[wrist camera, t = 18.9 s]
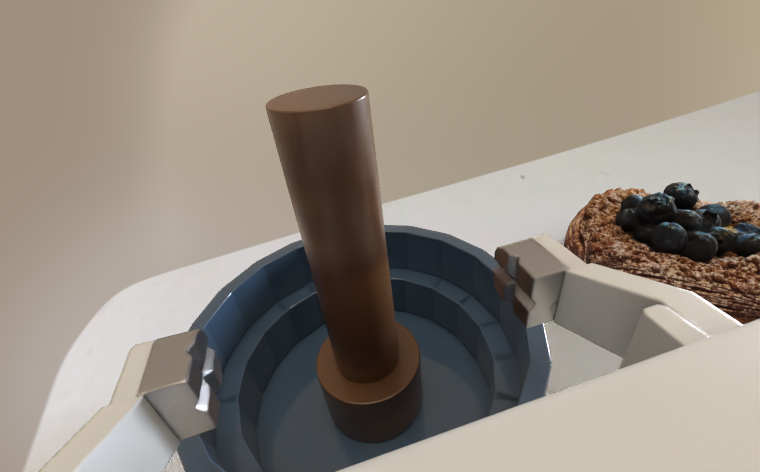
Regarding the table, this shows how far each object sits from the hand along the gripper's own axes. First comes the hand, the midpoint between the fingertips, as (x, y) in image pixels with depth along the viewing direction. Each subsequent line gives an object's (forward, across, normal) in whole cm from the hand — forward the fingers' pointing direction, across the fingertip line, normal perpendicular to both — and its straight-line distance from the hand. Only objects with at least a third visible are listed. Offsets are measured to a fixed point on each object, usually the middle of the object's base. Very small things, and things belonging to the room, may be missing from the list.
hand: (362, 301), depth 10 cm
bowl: (+3, 0, +10) cm, 10 cm away
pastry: (+5, -20, +10) cm, 23 cm away
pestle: (+3, 0, +9) cm, 10 cm away
